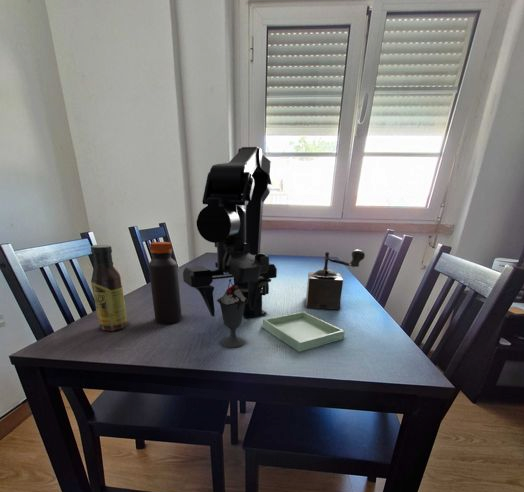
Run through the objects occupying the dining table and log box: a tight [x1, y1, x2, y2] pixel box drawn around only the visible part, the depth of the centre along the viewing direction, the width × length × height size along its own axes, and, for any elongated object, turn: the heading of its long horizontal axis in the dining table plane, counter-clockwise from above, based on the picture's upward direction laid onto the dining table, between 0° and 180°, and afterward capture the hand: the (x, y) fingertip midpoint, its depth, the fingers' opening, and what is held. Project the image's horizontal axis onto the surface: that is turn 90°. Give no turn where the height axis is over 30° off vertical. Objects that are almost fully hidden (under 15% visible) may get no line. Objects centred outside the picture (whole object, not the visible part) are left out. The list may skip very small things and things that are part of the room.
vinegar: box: [148, 241, 183, 325], centre depth 72 cm, size 7×7×20 cm
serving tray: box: [262, 311, 346, 353], centre depth 69 cm, size 15×13×2 cm
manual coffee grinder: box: [305, 249, 366, 310], centre depth 87 cm, size 16×11×18 cm
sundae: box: [216, 278, 248, 349], centre depth 60 cm, size 7×7×15 cm
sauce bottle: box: [90, 244, 128, 332], centre depth 66 cm, size 7×6×20 cm
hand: (232, 312), depth 61 cm, fingers open, 9 cm apart
